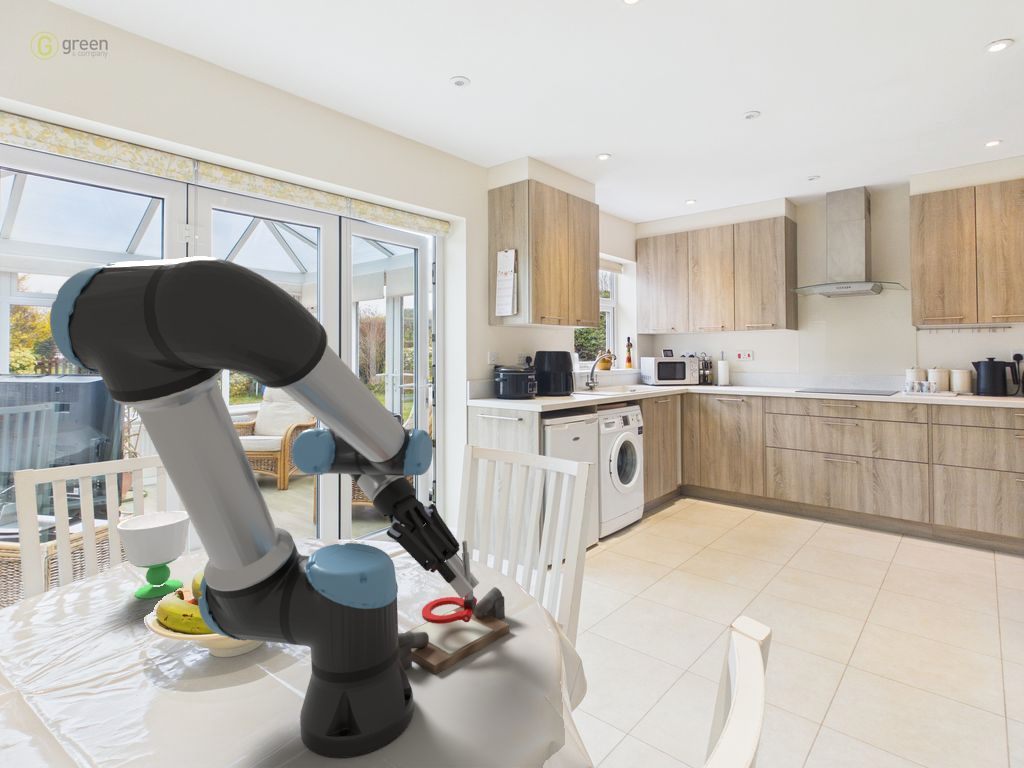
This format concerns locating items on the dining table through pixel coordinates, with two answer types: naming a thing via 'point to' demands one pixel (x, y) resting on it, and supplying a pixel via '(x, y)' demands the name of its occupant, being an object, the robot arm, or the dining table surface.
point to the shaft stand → (454, 636)
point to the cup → (155, 547)
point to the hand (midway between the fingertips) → (470, 590)
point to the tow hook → (454, 600)
